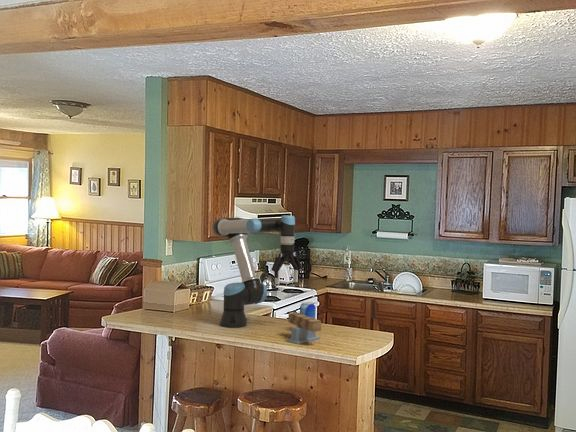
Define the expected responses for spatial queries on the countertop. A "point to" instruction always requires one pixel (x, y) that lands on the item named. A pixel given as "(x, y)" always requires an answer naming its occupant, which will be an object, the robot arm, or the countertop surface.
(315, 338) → the fulcrum block
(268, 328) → the countertop surface
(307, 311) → the beer can
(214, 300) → the countertop surface
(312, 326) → the walnut bar
